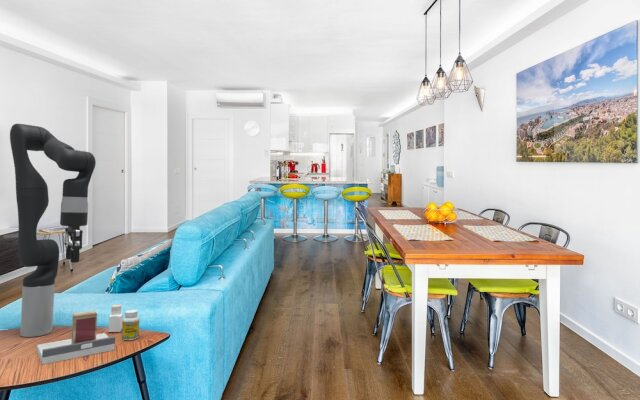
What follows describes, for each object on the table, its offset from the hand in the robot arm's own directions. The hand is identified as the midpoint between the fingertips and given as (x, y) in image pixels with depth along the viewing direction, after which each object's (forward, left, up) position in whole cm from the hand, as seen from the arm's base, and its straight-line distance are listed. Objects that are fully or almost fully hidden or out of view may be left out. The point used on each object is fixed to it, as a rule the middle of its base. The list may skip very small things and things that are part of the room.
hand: (72, 260), depth 124 cm
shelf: (+5, +2, -28) cm, 28 cm away
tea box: (+7, +3, -26) cm, 27 cm away
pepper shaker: (-8, +16, -28) cm, 33 cm away
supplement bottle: (+3, +18, -28) cm, 34 cm away
